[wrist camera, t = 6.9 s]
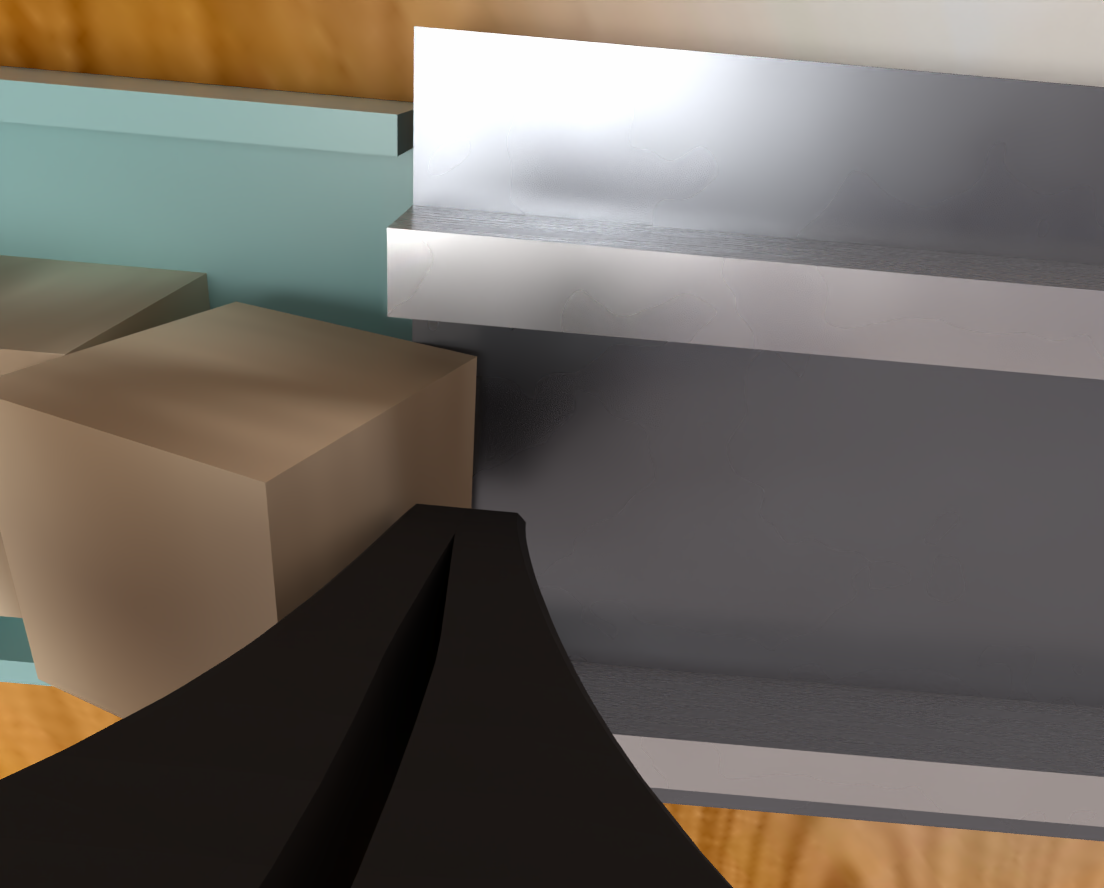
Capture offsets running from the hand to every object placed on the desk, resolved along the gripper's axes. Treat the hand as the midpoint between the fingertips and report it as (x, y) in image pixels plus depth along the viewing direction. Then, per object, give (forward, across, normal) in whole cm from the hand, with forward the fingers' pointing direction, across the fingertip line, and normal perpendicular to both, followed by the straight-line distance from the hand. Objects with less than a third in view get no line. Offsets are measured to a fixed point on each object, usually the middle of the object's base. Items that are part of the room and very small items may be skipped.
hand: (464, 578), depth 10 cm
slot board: (+5, -7, 0) cm, 9 cm away
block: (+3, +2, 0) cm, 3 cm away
